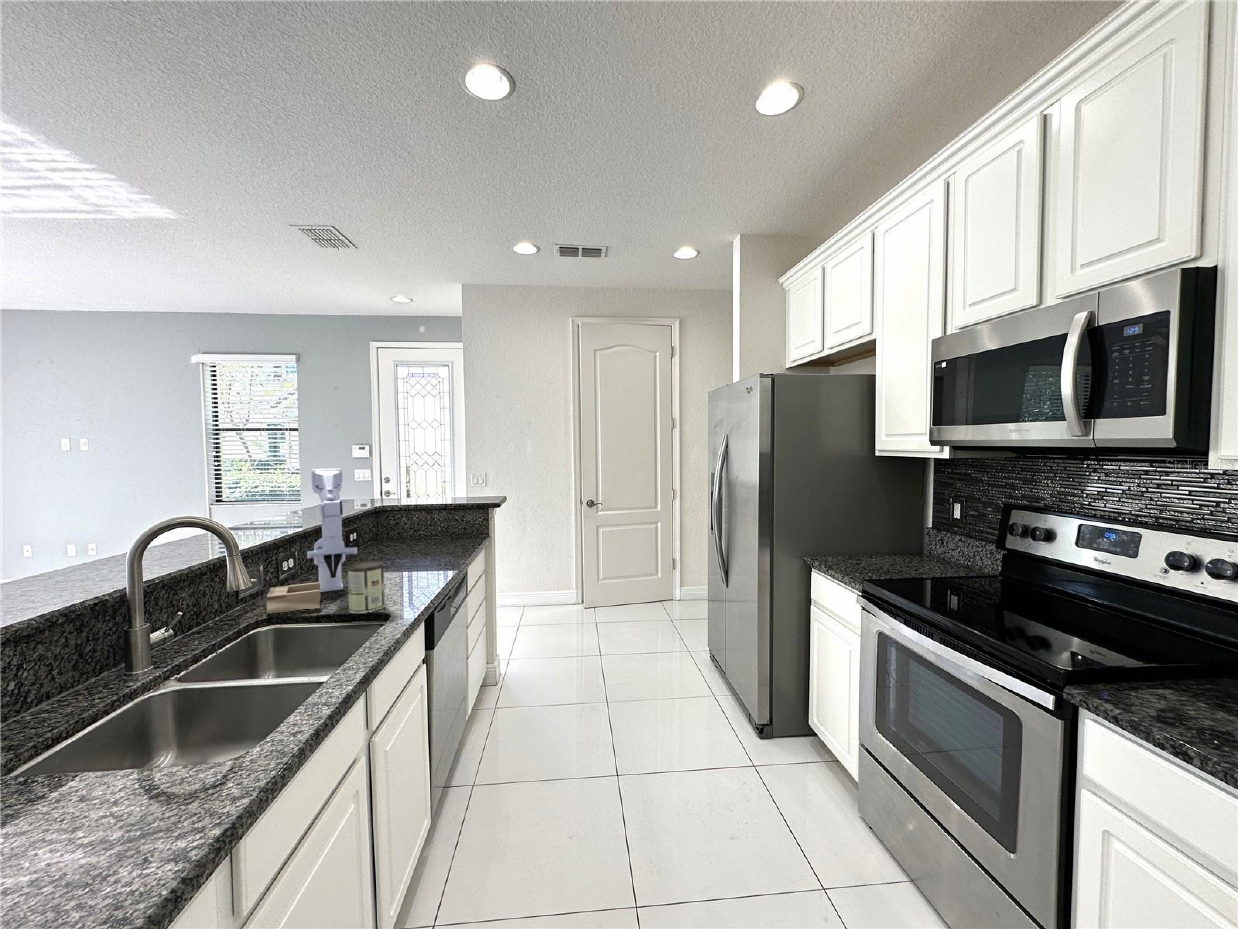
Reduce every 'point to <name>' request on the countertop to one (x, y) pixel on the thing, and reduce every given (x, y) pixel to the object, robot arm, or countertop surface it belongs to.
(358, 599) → the coffee can
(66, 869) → the countertop surface
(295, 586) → the wooden channel
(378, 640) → the countertop surface
